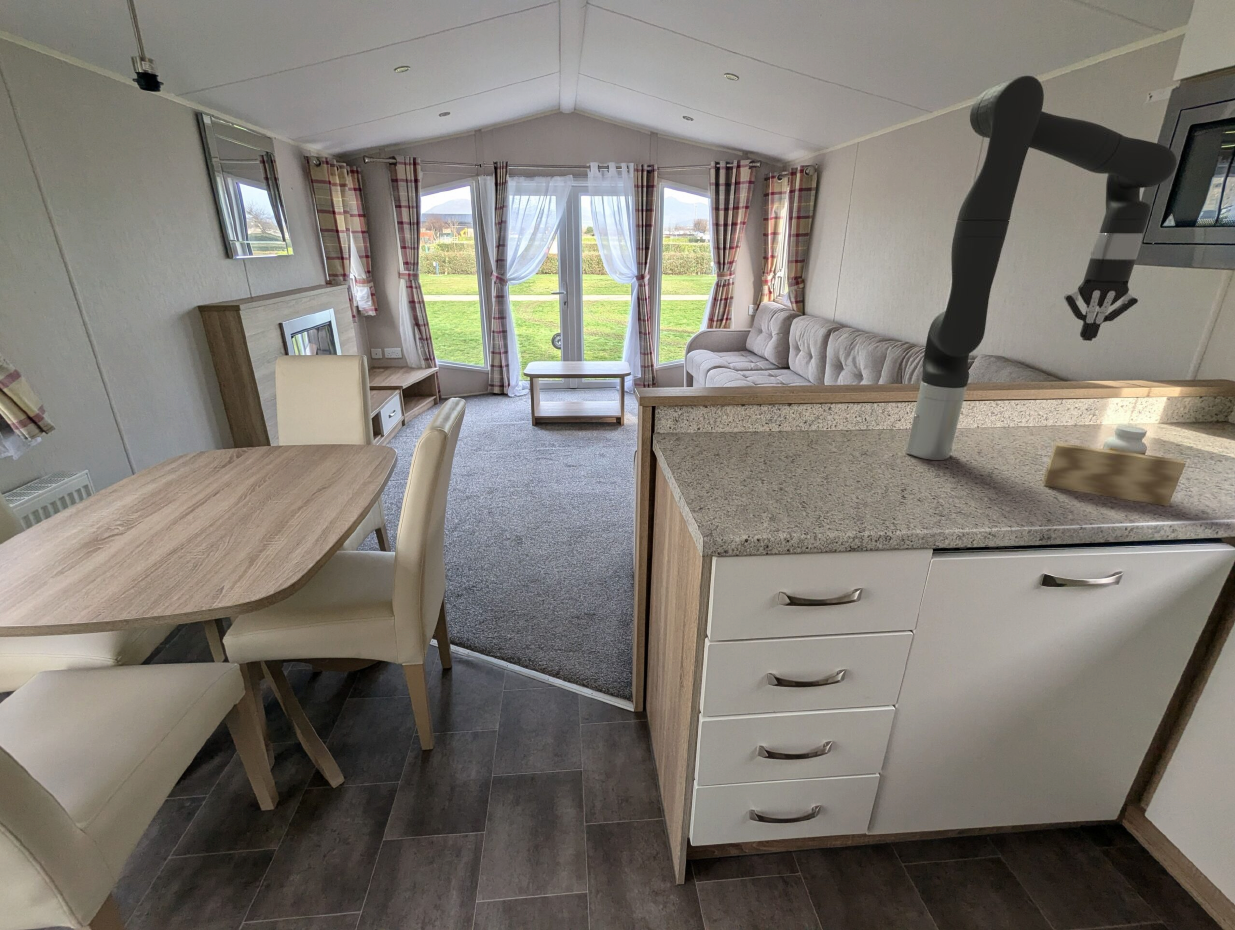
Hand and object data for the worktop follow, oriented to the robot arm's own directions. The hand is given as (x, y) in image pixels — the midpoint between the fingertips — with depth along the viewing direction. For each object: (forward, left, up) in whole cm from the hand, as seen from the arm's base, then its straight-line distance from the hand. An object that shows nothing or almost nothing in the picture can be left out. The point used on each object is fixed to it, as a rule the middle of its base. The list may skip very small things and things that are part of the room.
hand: (1086, 340), depth 126 cm
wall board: (+6, -20, -27) cm, 34 cm away
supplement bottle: (+8, -17, -27) cm, 33 cm away
